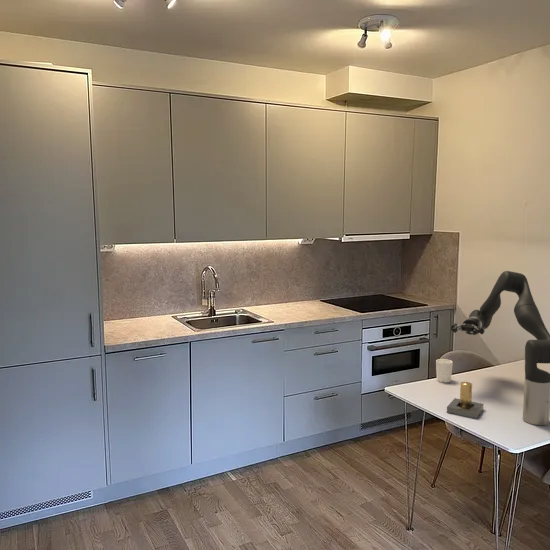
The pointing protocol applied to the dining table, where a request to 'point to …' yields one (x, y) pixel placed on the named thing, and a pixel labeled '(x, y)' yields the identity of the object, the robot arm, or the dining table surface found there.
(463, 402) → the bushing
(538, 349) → the robot arm
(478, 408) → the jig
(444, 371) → the white cup
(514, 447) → the dining table surface
